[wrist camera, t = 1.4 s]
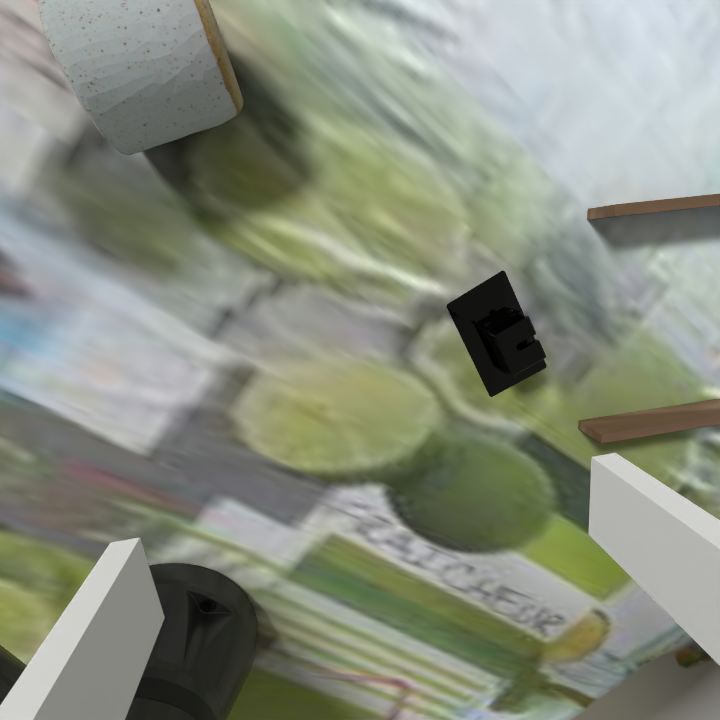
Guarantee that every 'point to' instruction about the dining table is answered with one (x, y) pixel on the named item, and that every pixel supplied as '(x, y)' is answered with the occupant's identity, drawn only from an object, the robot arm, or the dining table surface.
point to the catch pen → (666, 416)
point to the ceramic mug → (143, 67)
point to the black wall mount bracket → (497, 334)
